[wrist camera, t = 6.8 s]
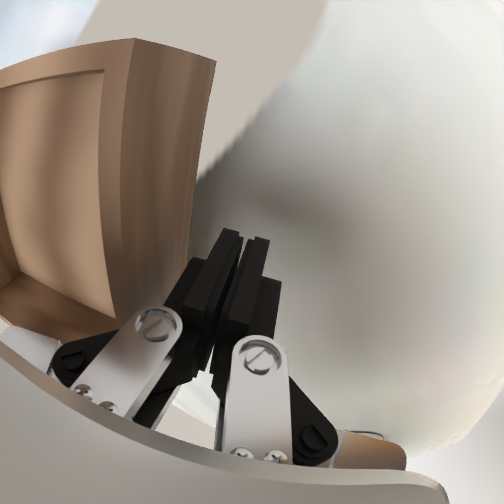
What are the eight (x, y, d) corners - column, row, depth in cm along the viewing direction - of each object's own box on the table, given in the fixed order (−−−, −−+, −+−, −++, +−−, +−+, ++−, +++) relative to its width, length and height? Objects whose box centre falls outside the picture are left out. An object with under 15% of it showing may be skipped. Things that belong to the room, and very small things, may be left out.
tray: (240, 70, 10) (134, 38, 3) (201, 295, 18) (151, 406, 11) (44, 73, 11) (-61, 102, 4) (54, 242, 19) (-13, 307, 12)
